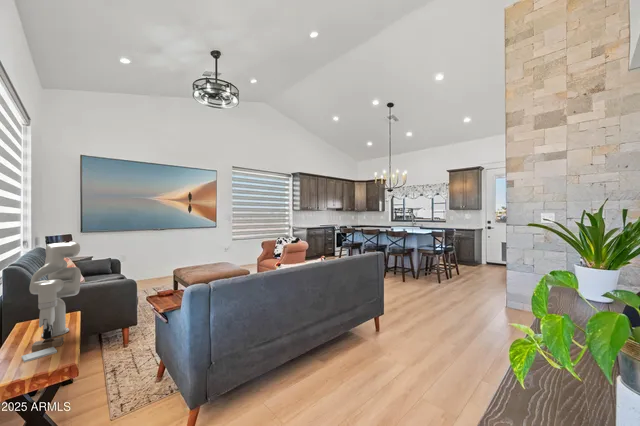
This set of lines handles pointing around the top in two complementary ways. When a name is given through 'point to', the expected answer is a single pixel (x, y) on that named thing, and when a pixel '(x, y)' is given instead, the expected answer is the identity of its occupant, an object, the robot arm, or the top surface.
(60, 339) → the block with rectangular opening
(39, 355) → the hard drive
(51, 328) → the metal cylinder
